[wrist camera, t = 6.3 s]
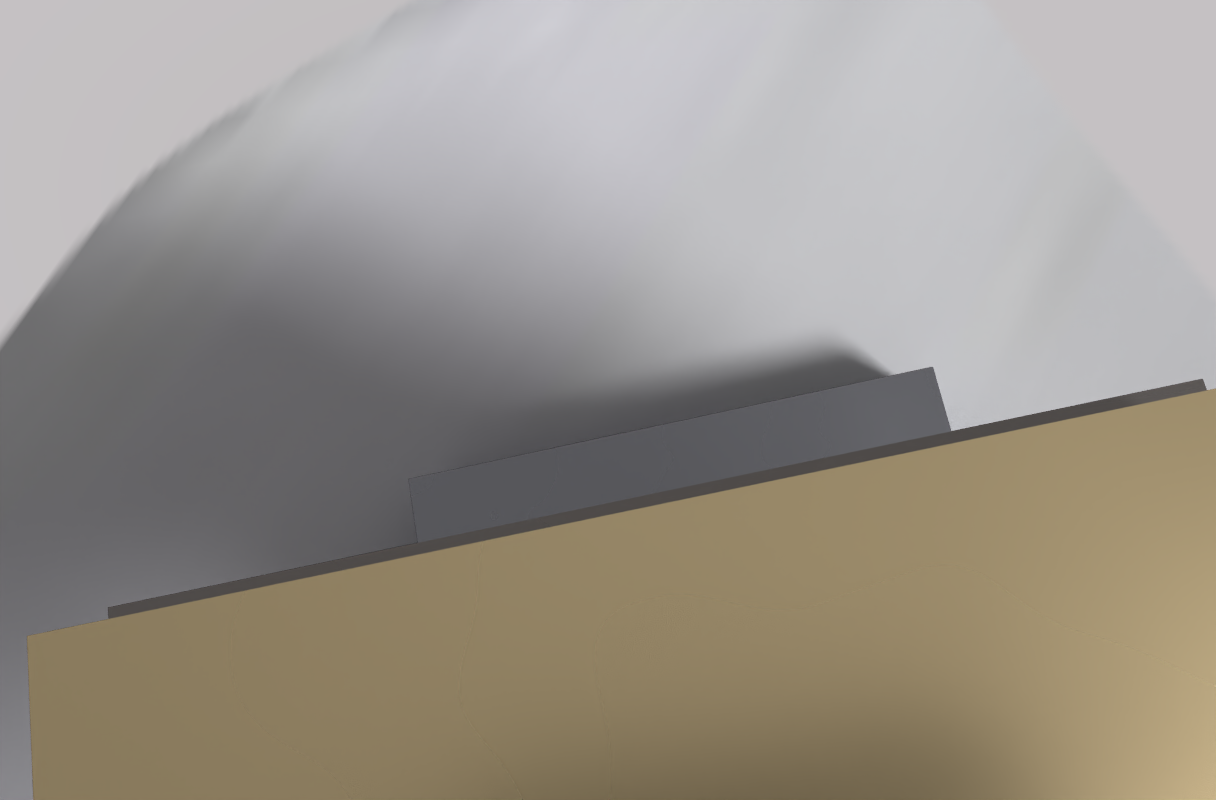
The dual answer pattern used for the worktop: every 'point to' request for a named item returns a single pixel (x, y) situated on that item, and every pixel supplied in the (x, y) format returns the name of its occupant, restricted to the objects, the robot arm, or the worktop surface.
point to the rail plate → (679, 454)
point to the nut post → (706, 641)
